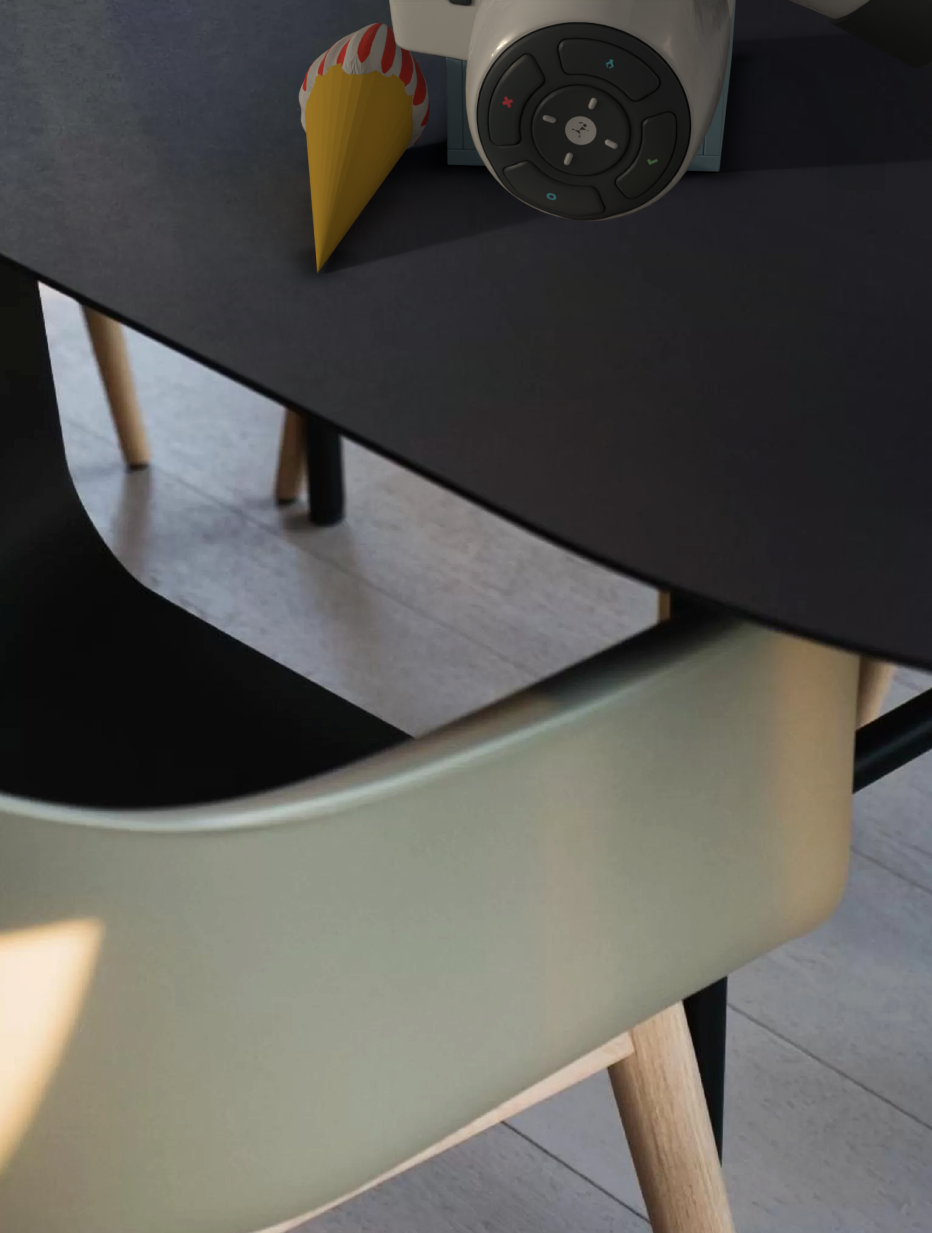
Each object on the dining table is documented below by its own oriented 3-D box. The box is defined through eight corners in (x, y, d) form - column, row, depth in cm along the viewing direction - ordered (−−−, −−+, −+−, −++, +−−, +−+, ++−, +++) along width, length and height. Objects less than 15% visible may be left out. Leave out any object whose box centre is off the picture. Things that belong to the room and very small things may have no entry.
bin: (731, 58, 120) (743, -111, 115) (719, 171, 109) (731, -11, 103) (485, 54, 122) (485, -113, 117) (447, 164, 111) (445, -15, 105)
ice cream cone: (305, 347, 106) (372, 98, 117) (409, 293, 102) (468, 41, 113) (222, 256, 102) (300, 9, 113) (327, 196, 98) (396, -53, 110)
